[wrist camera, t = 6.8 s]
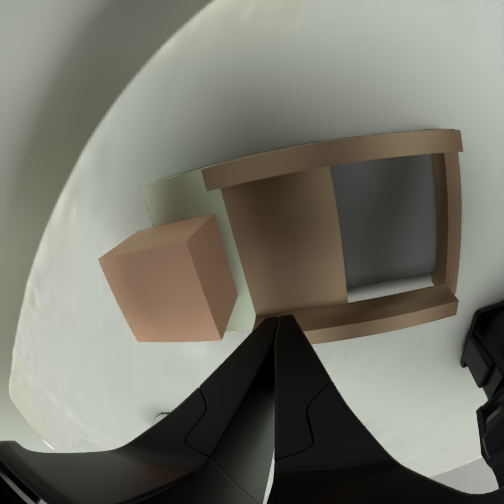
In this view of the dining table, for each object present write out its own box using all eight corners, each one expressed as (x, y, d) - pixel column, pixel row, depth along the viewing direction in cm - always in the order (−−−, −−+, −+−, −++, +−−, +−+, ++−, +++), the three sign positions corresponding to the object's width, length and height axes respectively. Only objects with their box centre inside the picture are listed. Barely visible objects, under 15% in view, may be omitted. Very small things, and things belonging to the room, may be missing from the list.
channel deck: (438, 128, 12) (475, 130, 8) (443, 278, 15) (468, 310, 12) (156, 181, 16) (121, 195, 12) (203, 316, 20) (185, 352, 16)
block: (214, 213, 14) (185, 241, 11) (238, 295, 16) (221, 340, 12) (137, 231, 15) (98, 259, 12) (165, 302, 17) (137, 341, 13)
